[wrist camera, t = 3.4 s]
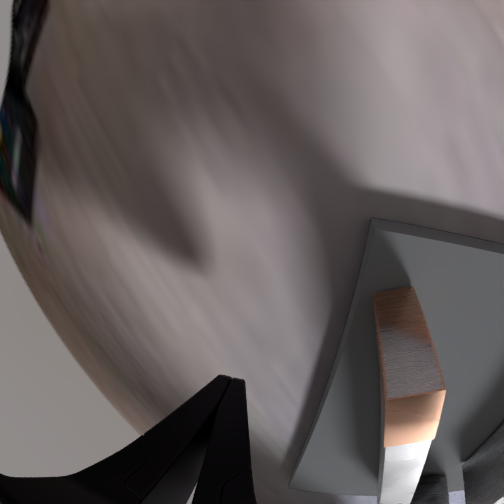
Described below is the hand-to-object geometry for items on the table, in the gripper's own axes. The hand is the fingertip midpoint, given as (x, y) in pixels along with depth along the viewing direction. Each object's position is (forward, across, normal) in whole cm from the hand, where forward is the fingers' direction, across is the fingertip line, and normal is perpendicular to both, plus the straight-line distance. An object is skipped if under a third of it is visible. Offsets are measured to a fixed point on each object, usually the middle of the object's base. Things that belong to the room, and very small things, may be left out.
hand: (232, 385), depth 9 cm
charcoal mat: (+3, -12, +4) cm, 13 cm away
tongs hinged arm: (+2, -9, +5) cm, 10 cm away
